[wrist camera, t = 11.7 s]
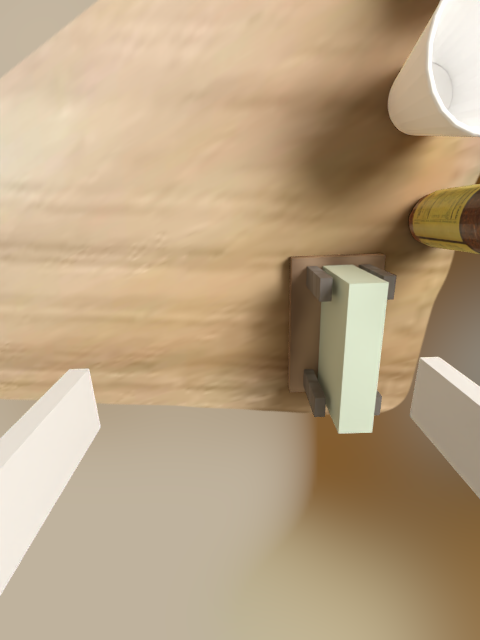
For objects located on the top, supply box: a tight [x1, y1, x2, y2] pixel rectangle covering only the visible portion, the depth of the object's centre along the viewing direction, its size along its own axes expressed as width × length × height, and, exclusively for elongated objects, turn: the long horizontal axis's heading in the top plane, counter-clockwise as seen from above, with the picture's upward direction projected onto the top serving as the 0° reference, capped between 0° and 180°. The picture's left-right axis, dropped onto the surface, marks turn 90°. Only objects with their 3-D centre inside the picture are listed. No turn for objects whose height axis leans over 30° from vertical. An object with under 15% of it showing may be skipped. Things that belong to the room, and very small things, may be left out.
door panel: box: [318, 265, 389, 433], centre depth 36 cm, size 4×16×10 cm, turn 2°
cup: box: [388, 0, 480, 137], centre depth 28 cm, size 12×12×12 cm
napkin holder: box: [288, 254, 396, 417], centre depth 38 cm, size 11×18×8 cm, turn 2°
